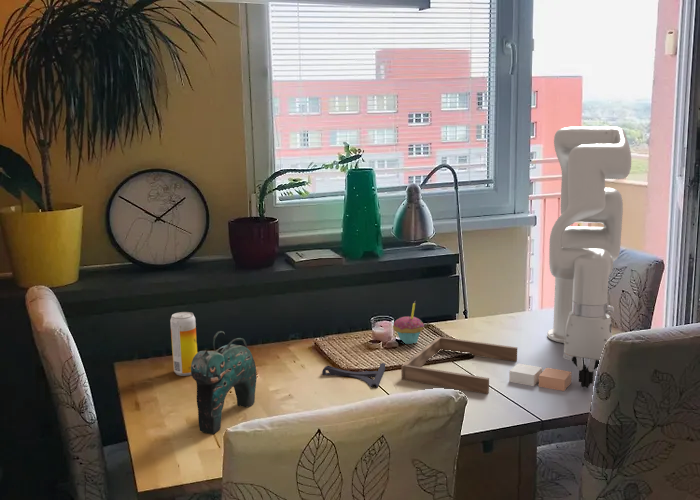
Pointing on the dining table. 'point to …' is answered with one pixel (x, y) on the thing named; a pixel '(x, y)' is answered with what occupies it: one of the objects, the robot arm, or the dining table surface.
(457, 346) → the frame
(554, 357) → the dining table surface
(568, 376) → the terracotta tile
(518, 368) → the white square tile
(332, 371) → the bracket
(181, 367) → the beer can
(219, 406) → the ceramic cat
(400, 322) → the cupcake
